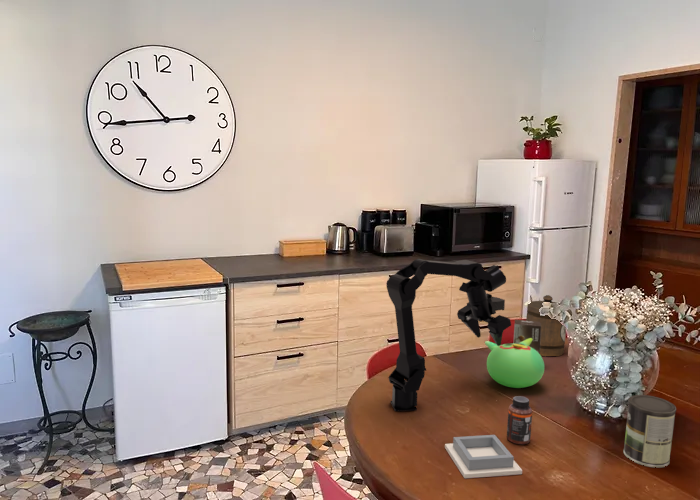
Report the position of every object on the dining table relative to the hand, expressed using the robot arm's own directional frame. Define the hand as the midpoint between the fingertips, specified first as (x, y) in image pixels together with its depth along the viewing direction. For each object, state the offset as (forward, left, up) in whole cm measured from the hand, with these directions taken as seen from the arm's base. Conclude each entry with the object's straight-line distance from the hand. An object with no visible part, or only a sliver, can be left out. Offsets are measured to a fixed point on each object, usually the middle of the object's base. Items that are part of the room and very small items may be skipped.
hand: (489, 341), depth 176 cm
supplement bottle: (-5, -34, -16) cm, 38 cm away
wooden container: (+37, +32, -16) cm, 51 cm away
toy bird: (+10, +1, -16) cm, 19 cm away
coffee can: (+23, -46, -16) cm, 54 cm away
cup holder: (-19, -42, -16) cm, 49 cm away
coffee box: (+22, +17, -16) cm, 32 cm away
